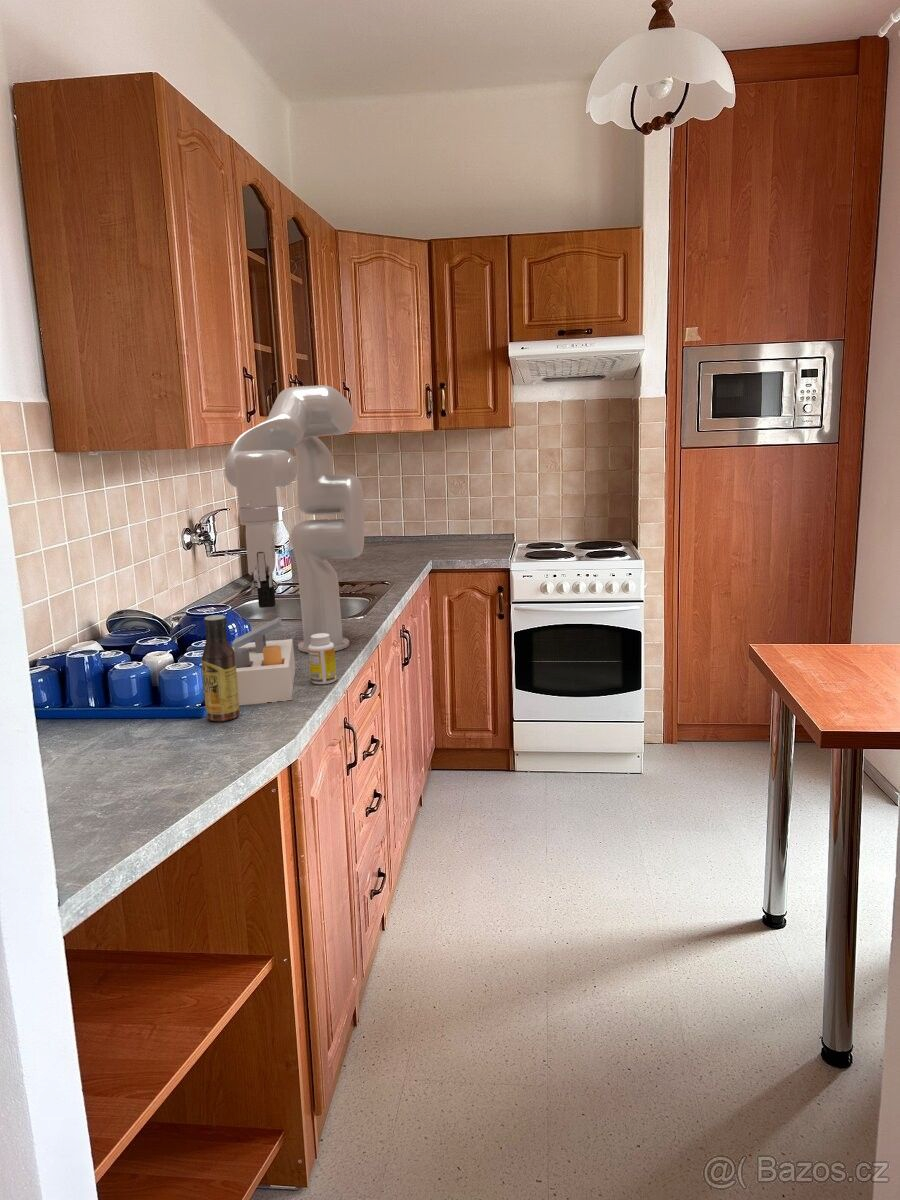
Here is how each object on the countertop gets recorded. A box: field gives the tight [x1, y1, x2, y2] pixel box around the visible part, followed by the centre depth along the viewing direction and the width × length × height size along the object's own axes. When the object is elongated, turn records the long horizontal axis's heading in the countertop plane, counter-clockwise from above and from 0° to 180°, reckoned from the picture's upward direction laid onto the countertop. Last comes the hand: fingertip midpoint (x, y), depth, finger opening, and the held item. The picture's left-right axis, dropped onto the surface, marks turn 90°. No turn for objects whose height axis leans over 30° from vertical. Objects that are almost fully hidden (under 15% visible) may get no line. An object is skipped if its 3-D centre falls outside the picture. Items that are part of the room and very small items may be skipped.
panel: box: [232, 634, 296, 706], centre depth 188 cm, size 24×13×10 cm, turn 8°
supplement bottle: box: [307, 633, 338, 685], centre depth 189 cm, size 6×6×10 cm
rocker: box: [231, 616, 283, 649], centre depth 192 cm, size 6×11×2 cm, turn 98°
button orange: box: [263, 646, 282, 666], centre depth 181 cm, size 4×4×8 cm
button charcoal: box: [234, 648, 250, 668], centre depth 180 cm, size 4×4×8 cm
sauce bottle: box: [200, 614, 240, 723], centre depth 168 cm, size 7×6×20 cm
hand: (267, 606), depth 178 cm, fingers closed
